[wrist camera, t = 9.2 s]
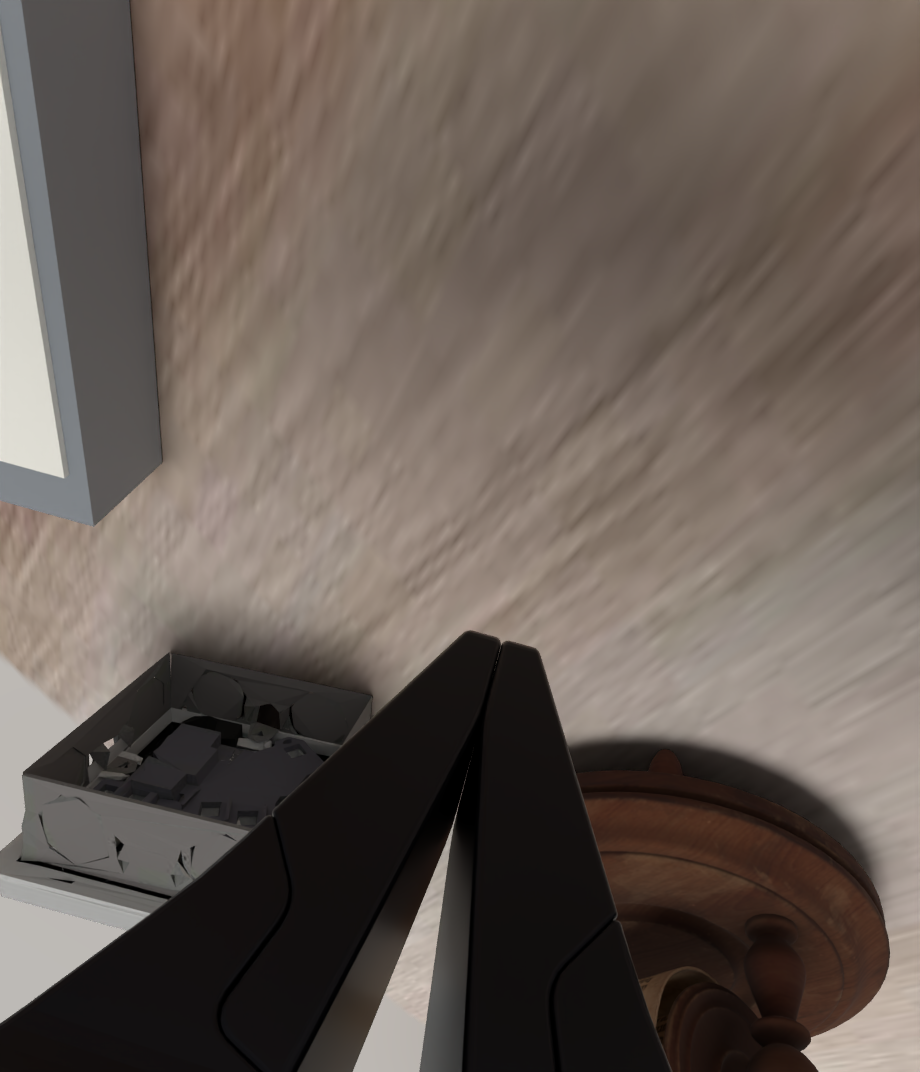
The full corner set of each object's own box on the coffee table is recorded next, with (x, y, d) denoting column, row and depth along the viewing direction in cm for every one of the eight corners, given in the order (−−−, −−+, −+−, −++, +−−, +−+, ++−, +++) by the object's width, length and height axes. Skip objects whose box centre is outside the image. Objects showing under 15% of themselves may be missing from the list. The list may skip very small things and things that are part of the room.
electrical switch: (164, 717, 32) (-4, 930, 24) (149, 608, 29) (-45, 806, 21) (396, 769, 30) (301, 1014, 22) (402, 659, 28) (297, 892, 20)
